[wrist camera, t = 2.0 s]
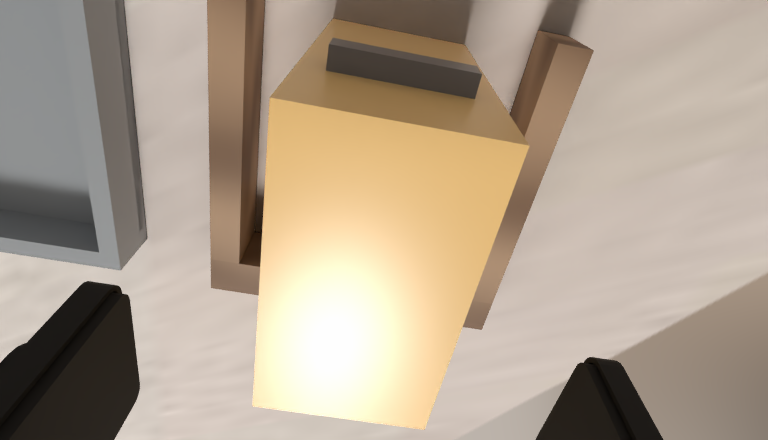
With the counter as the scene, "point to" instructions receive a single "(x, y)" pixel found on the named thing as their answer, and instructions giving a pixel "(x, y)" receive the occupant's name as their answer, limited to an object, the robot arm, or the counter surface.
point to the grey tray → (68, 134)
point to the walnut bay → (241, 137)
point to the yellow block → (376, 222)
